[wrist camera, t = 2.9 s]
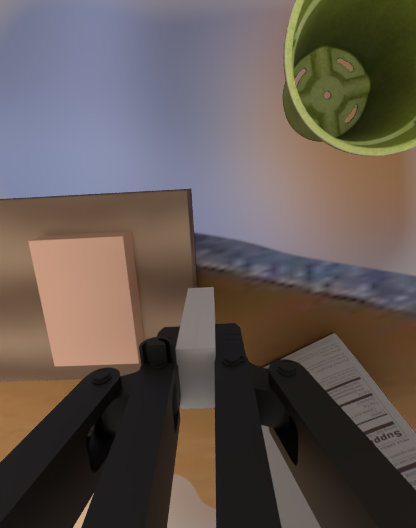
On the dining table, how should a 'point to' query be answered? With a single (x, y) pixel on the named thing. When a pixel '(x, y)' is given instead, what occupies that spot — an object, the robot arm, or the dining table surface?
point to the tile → (89, 297)
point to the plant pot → (353, 74)
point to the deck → (80, 222)
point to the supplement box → (357, 408)
